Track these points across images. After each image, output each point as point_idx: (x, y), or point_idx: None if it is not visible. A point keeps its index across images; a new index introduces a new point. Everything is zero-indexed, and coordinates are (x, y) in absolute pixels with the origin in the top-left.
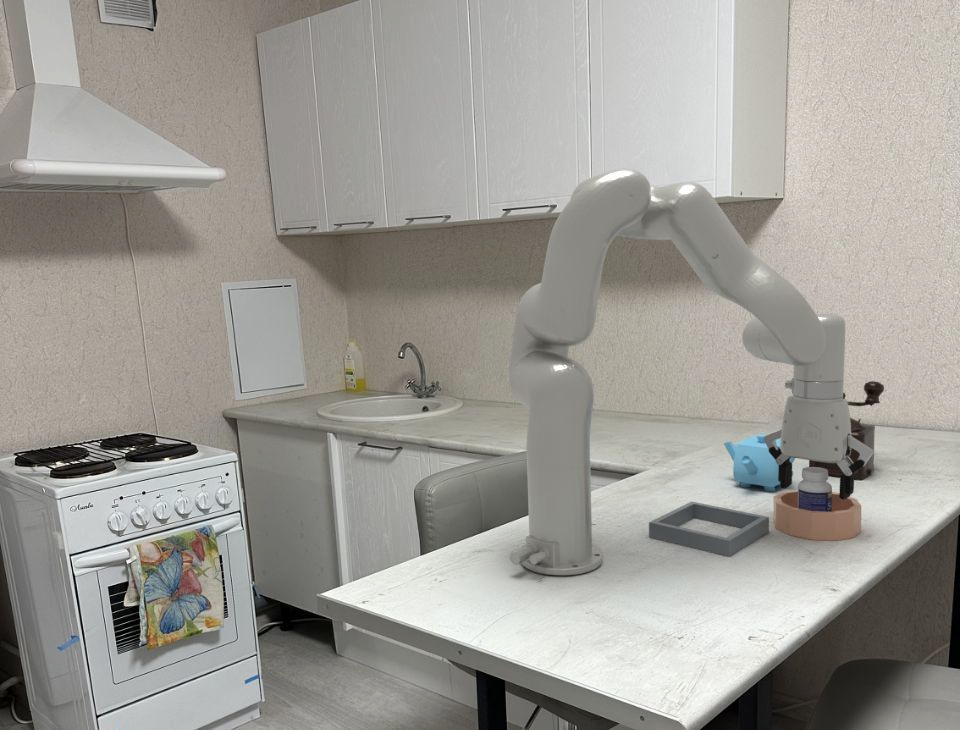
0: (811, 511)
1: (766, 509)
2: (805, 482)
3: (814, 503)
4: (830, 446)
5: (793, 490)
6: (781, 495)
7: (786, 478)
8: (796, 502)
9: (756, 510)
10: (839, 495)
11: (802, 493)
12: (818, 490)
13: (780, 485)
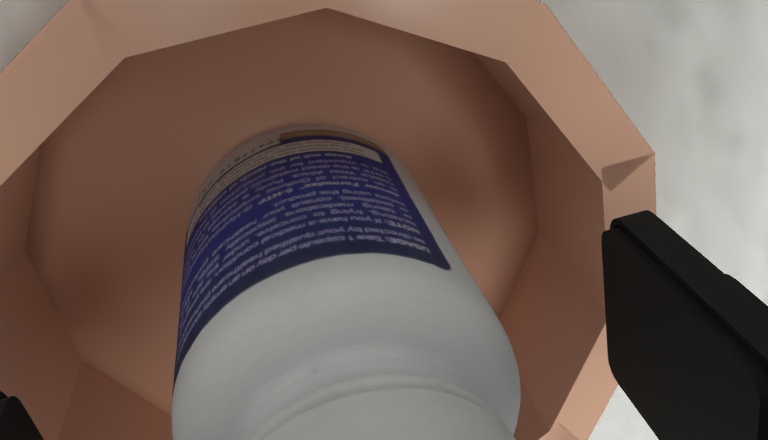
0: (117, 33)
1: (697, 244)
2: (410, 358)
3: (241, 229)
4: None
5: (604, 396)
6: None
7: (655, 317)
8: (535, 337)
9: (738, 182)
10: (4, 411)
11: (378, 235)
12: (215, 334)
13: (656, 220)
